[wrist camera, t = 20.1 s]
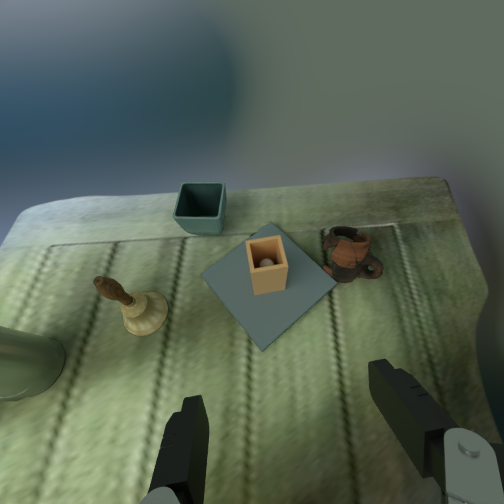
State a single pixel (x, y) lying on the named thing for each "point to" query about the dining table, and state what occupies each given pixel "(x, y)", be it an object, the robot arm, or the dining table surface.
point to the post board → (269, 304)
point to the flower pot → (201, 207)
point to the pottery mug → (351, 255)
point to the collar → (271, 275)
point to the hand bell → (135, 306)
